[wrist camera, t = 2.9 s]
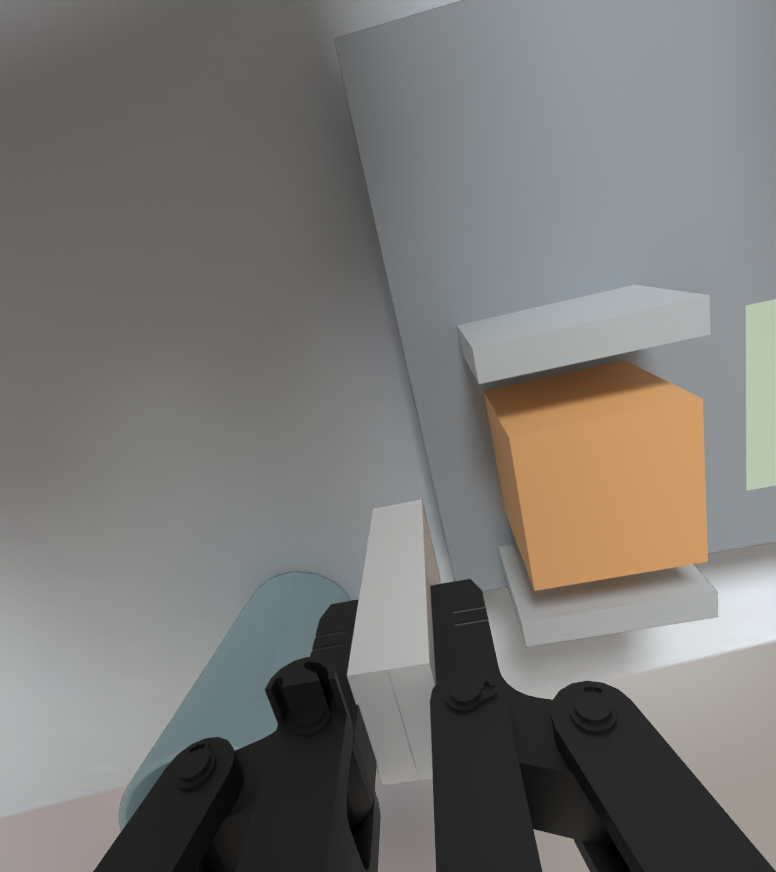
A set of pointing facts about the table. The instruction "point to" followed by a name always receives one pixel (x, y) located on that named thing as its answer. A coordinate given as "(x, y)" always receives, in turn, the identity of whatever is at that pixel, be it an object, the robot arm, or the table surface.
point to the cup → (241, 675)
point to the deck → (579, 249)
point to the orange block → (601, 473)
